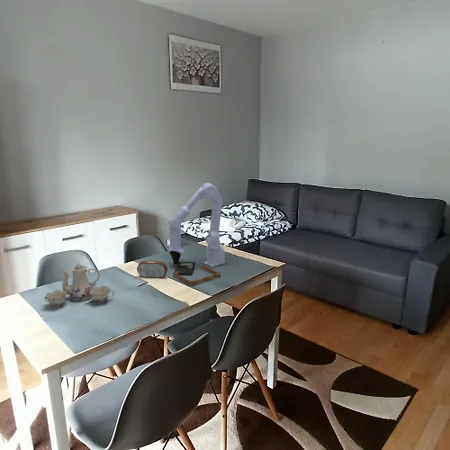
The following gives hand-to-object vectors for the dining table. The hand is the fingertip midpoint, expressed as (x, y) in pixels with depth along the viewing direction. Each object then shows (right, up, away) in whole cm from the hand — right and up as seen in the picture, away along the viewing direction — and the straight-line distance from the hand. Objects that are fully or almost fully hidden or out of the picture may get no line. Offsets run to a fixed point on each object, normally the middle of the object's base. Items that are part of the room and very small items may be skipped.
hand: (176, 264), depth 198 cm
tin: (-10, -5, -14) cm, 18 cm away
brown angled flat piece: (+12, -5, -13) cm, 19 cm away
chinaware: (-36, -12, -38) cm, 54 cm away
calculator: (+5, -3, -6) cm, 9 cm away
